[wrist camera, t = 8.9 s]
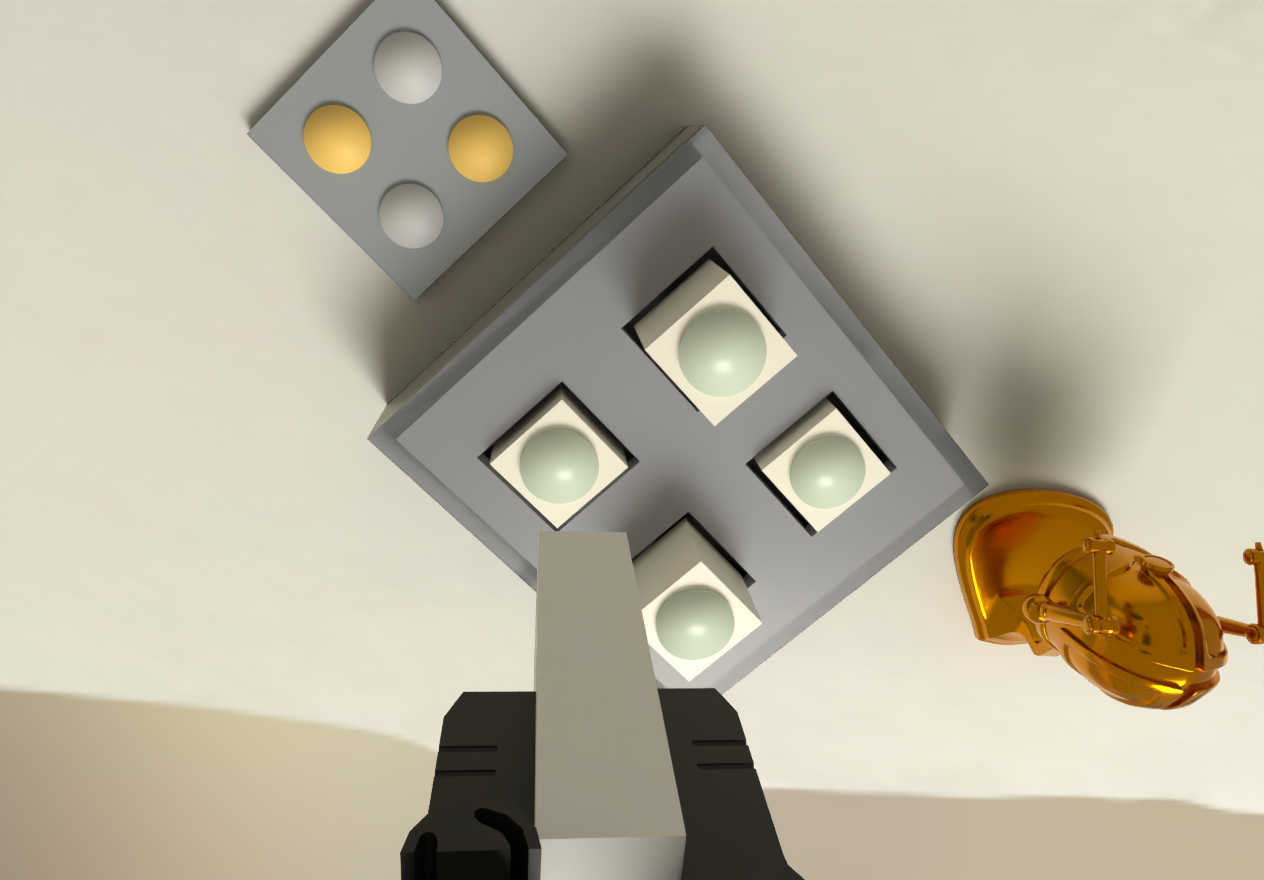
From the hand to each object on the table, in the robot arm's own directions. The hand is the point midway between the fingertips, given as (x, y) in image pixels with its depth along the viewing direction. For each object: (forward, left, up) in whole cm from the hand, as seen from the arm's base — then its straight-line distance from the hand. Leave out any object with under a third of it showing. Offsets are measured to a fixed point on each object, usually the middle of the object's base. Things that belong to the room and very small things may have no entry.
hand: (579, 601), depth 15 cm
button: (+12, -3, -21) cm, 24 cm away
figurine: (+26, +10, -25) cm, 37 cm away
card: (-9, +1, -25) cm, 26 cm away
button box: (+8, +1, -25) cm, 26 cm away
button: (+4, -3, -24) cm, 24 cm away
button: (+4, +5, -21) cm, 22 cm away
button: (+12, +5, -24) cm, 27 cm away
